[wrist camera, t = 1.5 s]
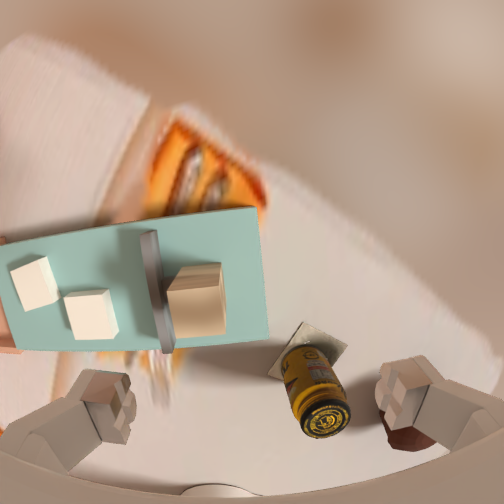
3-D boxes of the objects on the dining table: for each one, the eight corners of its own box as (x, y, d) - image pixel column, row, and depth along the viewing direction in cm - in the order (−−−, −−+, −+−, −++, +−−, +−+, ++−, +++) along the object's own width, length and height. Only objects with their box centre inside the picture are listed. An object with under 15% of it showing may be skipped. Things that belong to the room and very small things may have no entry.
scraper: (231, 335, 32) (232, 375, 24) (167, 340, 32) (152, 380, 24) (216, 222, 30) (211, 232, 22) (147, 231, 30) (120, 243, 22)
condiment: (266, 373, 38) (279, 435, 26) (303, 321, 37) (332, 373, 25) (311, 391, 39) (335, 450, 27) (347, 344, 38) (385, 395, 26)
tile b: (61, 297, 30) (53, 302, 28) (33, 306, 30) (25, 311, 28) (46, 256, 29) (37, 259, 27) (19, 267, 29) (10, 271, 27)
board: (265, 324, 37) (269, 338, 33) (30, 337, 35) (17, 349, 31) (253, 205, 34) (256, 207, 30) (7, 243, 32) (-11, 248, 28)
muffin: (357, 417, 41) (381, 460, 31) (401, 362, 40) (436, 398, 30) (403, 430, 43) (428, 465, 33) (442, 381, 41) (474, 412, 32)
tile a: (119, 331, 31) (113, 338, 29) (82, 332, 31) (75, 339, 29) (108, 288, 30) (101, 294, 29) (71, 292, 30) (63, 297, 28)
